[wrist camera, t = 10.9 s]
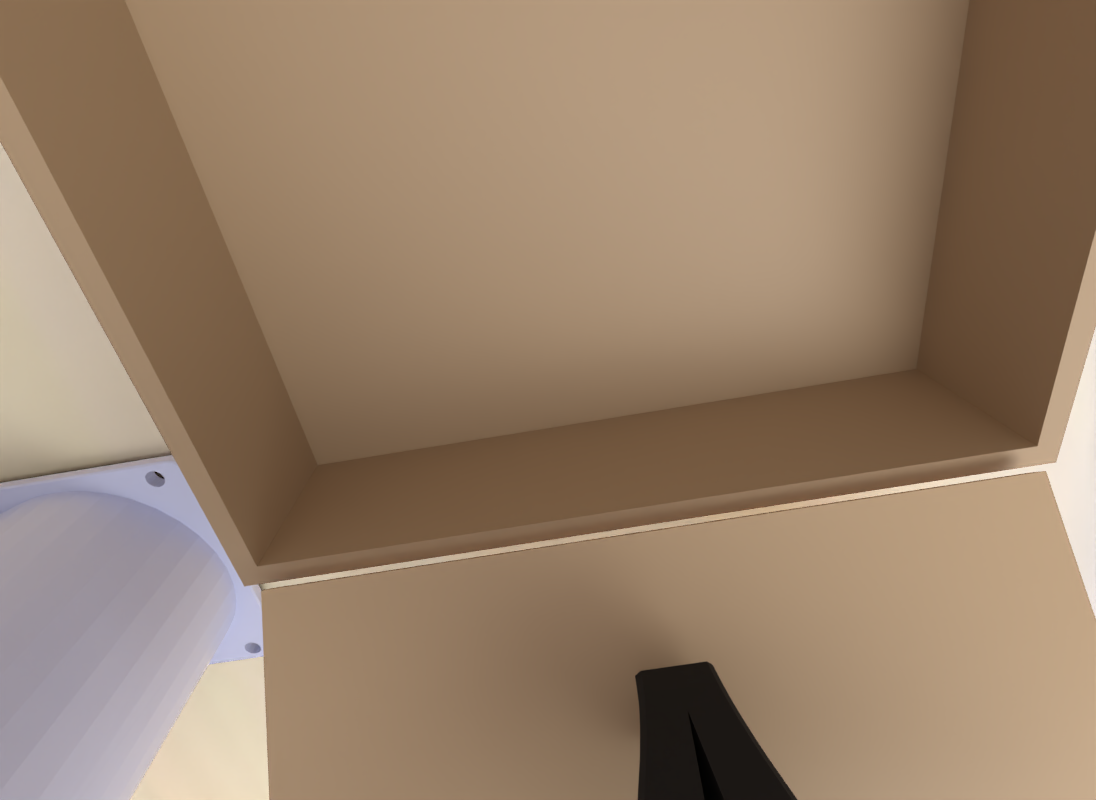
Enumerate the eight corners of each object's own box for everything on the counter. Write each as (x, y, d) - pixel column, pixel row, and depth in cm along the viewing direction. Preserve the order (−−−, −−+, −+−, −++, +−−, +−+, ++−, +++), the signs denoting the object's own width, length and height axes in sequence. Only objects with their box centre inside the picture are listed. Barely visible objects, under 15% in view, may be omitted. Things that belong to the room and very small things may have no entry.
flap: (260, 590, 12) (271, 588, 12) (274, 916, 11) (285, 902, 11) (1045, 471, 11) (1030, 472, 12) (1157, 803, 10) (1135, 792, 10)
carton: (311, 474, 17) (244, 586, 13) (-55, -390, 9) (-511, -791, 5) (922, 376, 16) (1055, 462, 12) (1077, -649, 8) (1581, -1347, 4)
